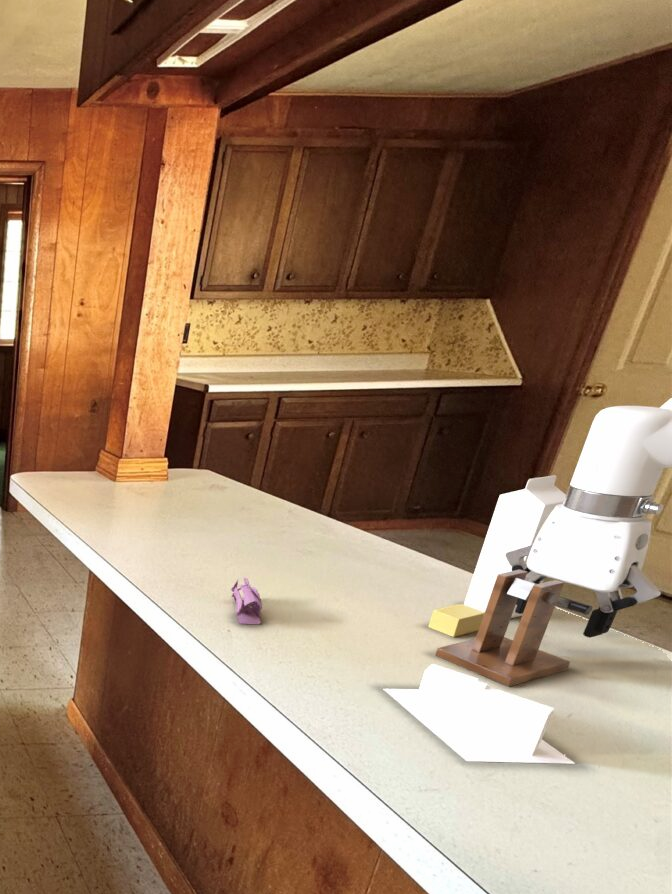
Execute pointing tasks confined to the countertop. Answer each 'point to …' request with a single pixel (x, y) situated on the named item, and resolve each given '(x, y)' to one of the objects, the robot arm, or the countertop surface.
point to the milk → (512, 534)
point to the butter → (456, 620)
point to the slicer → (504, 655)
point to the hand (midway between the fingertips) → (557, 622)
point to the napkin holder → (480, 718)
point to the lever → (524, 589)
